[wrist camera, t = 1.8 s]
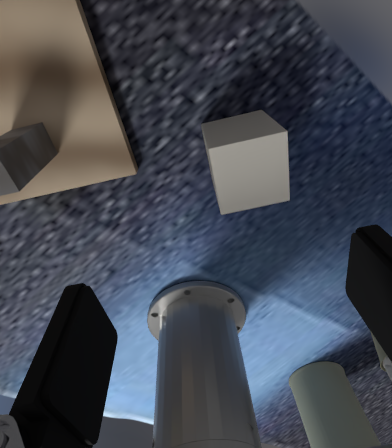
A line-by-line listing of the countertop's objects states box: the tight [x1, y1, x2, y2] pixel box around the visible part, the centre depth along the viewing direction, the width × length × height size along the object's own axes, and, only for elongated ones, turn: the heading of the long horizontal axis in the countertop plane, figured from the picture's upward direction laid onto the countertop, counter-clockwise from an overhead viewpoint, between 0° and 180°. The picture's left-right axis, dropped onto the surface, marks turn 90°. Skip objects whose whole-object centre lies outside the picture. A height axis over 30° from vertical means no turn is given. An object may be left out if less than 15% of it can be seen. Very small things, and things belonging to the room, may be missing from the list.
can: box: [289, 361, 381, 448], centre depth 43 cm, size 9×9×12 cm
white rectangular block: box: [201, 110, 290, 215], centre depth 23 cm, size 5×5×7 cm
